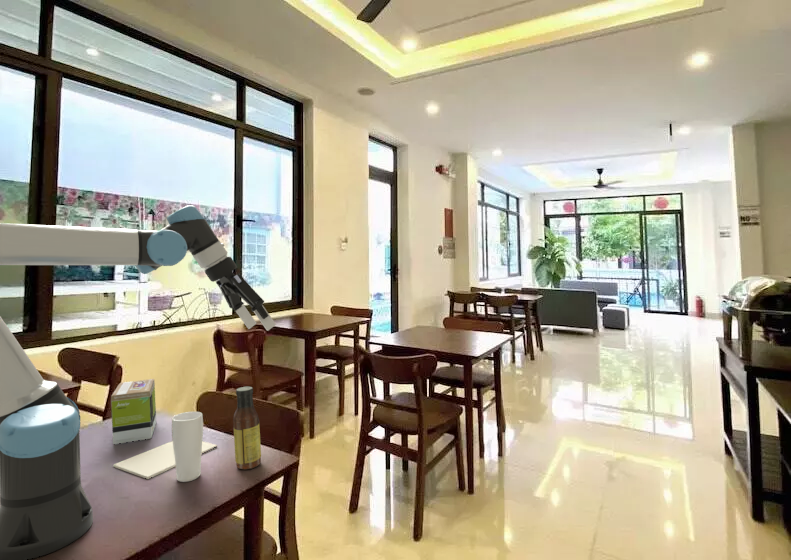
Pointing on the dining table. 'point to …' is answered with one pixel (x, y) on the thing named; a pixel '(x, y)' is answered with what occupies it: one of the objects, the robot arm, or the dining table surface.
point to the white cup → (187, 445)
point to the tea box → (133, 411)
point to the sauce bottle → (246, 431)
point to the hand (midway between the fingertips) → (261, 327)
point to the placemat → (154, 460)
